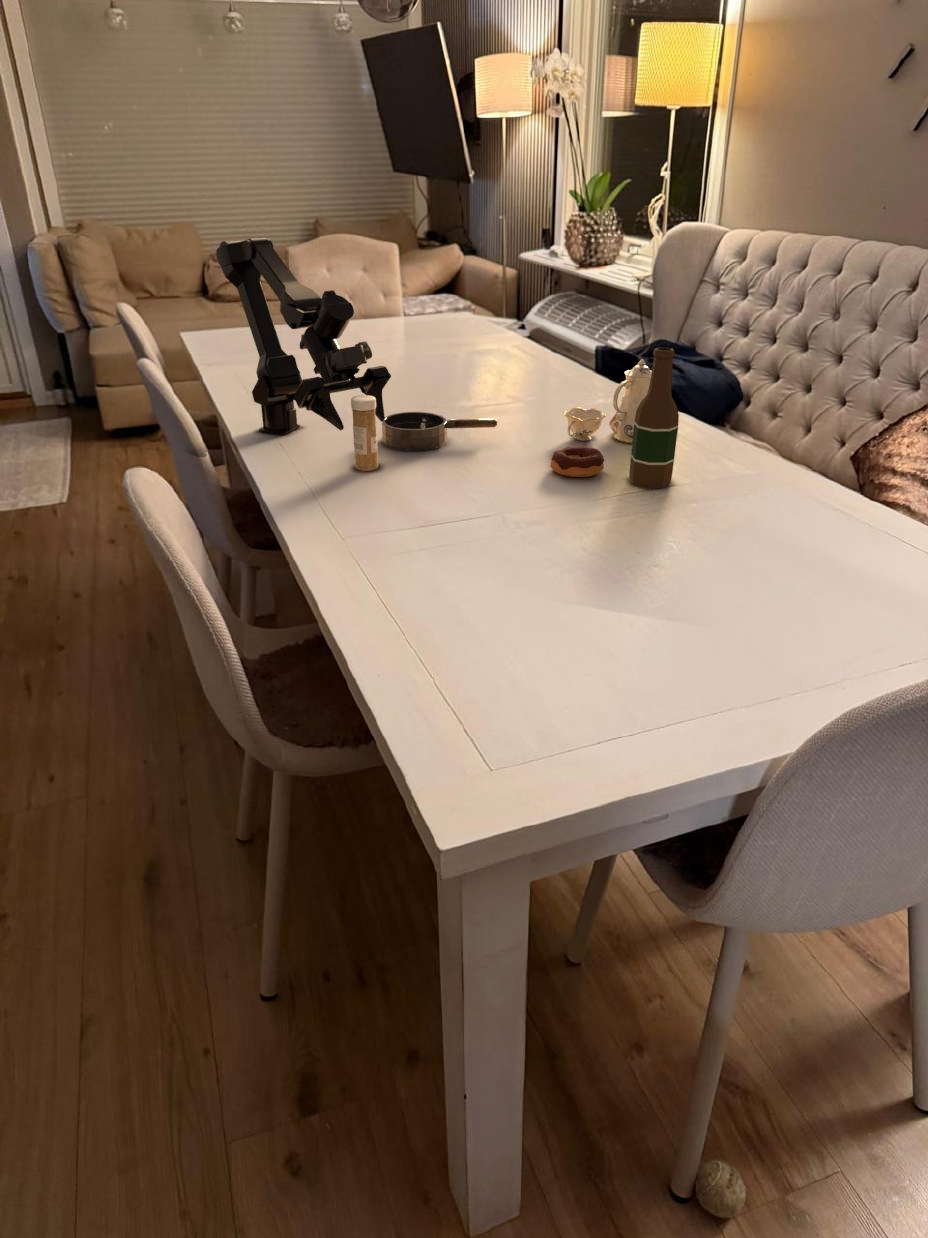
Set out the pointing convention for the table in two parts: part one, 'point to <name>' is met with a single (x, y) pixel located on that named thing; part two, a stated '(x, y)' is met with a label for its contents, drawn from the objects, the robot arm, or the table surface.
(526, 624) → the table surface
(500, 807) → the table surface
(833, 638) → the table surface
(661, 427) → the beer bottle
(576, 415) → the chinaware
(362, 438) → the sprinkles bottle
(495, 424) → the pan handle
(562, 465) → the donut
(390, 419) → the pan
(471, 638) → the table surface
